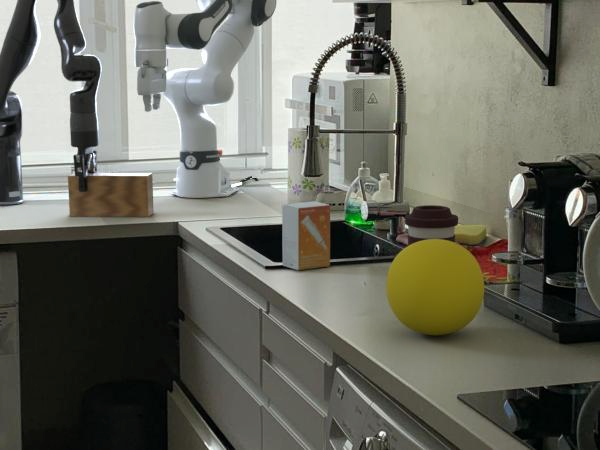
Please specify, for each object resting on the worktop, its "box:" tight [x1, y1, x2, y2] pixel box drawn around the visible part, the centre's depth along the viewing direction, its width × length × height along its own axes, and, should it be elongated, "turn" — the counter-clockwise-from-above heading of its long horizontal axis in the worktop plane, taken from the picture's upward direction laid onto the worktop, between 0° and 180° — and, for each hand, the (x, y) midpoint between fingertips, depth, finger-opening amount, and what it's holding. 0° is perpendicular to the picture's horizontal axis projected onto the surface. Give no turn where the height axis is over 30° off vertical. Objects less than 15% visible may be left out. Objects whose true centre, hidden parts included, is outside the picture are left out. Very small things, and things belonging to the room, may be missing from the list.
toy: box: [385, 239, 485, 336], centre depth 164 cm, size 15×15×15 cm
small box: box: [281, 200, 331, 271], centre depth 216 cm, size 8×6×13 cm
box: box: [67, 172, 155, 218], centre depth 287 cm, size 22×6×11 cm, turn 84°
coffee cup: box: [404, 204, 459, 246], centre depth 197 cm, size 10×10×15 cm
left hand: (87, 189), depth 288 cm, fingers closed on box, 6 cm apart
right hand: (152, 110), depth 294 cm, fingers open, 8 cm apart
